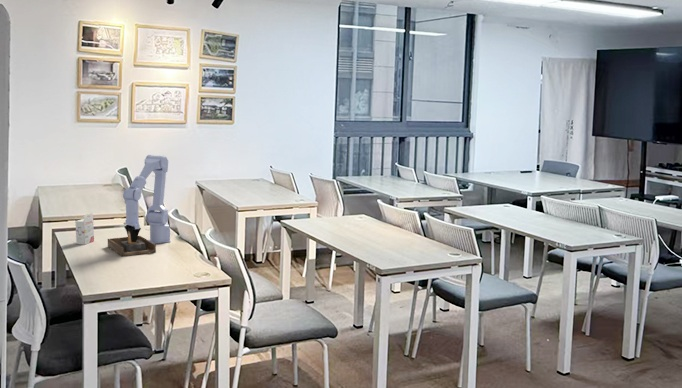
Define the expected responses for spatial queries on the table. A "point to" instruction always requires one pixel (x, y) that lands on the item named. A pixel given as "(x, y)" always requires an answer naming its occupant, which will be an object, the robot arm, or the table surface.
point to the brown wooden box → (131, 246)
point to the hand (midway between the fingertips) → (132, 241)
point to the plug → (130, 239)
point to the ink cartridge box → (85, 230)
